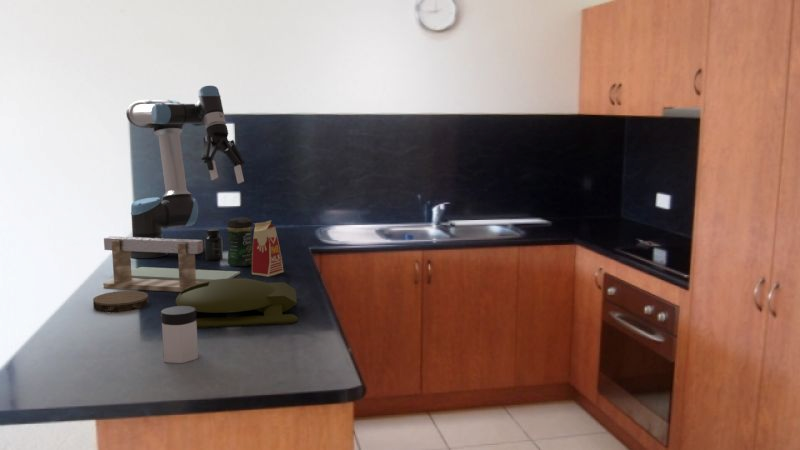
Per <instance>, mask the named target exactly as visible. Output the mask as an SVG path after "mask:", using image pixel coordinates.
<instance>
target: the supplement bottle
mask: <svg viewBox="0 0 800 450" xmlns="http://www.w3.org/2000/svg"><path fill="white" fill-rule="evenodd" d="M223 252H224V251H223V237H222V236H220V229H219V228H210V229H207V230H206V236H205V238H204V256H205V257H204V259H205V260H206V261H210V262H214V261H221V260H223V258H224V256H223Z"/></svg>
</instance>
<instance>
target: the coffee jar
mask: <svg viewBox="0 0 800 450" xmlns="http://www.w3.org/2000/svg"><path fill="white" fill-rule="evenodd" d="M226 229H227V232H228V251H227V252H228V254H227V265H229V266H231V267H246V266H249V265H252V250H253V240H252V231H253V229H254V226H253V221H252V218H251V217H246V216H241V217H234V218H231V219H230V218H229V219H228V220H227V227H226Z"/></svg>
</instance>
